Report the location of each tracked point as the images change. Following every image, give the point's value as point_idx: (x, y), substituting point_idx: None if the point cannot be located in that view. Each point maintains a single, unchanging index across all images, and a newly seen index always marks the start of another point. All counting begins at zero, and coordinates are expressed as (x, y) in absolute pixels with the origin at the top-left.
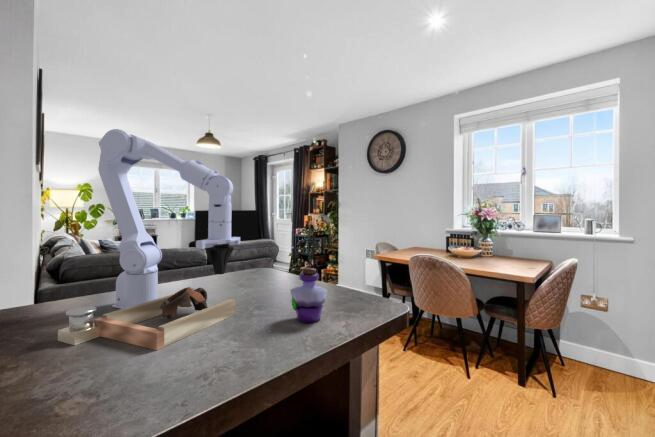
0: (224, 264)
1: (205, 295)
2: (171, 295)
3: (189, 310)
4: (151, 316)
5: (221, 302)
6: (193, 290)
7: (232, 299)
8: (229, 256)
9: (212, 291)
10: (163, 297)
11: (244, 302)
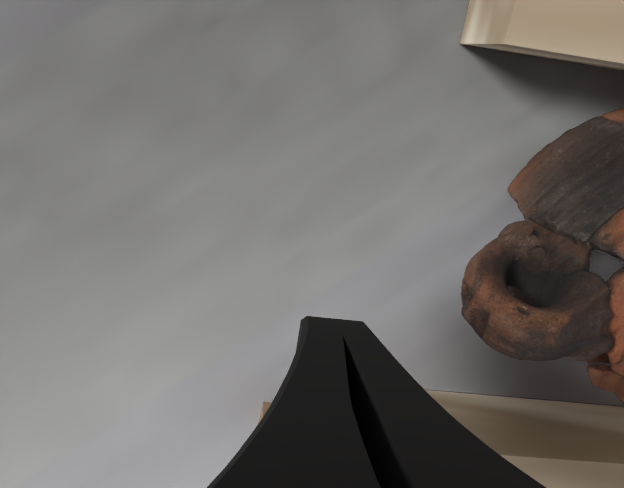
0: (347, 376)
1: (499, 272)
2: None
3: (449, 323)
4: (597, 409)
5: (619, 61)
6: None
7: (519, 15)
8: (247, 446)
9: (42, 439)
10: None
11: (181, 84)
